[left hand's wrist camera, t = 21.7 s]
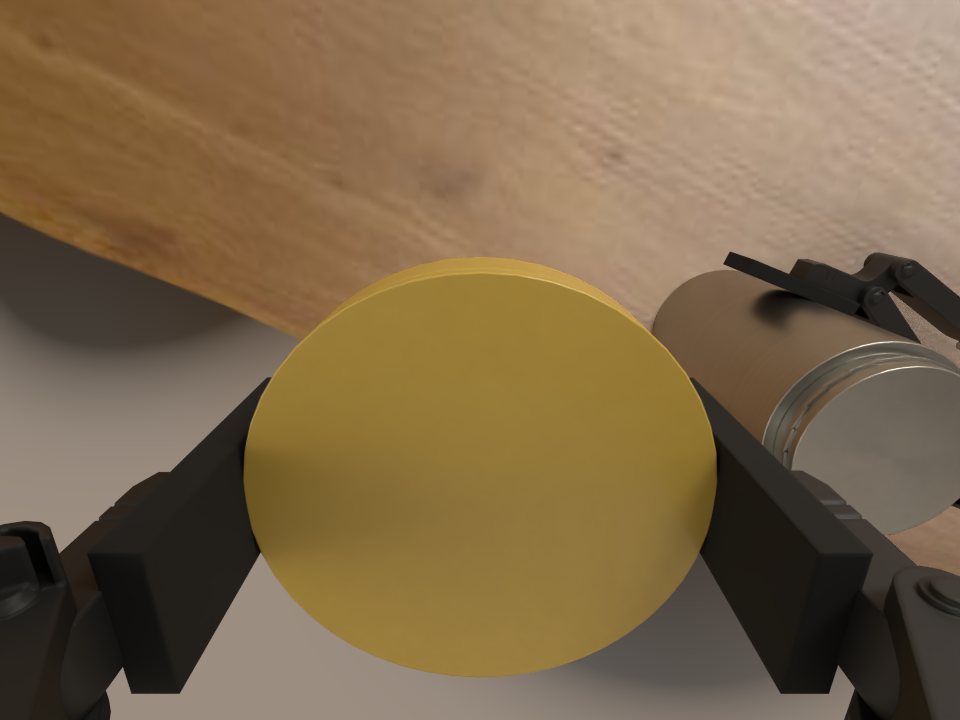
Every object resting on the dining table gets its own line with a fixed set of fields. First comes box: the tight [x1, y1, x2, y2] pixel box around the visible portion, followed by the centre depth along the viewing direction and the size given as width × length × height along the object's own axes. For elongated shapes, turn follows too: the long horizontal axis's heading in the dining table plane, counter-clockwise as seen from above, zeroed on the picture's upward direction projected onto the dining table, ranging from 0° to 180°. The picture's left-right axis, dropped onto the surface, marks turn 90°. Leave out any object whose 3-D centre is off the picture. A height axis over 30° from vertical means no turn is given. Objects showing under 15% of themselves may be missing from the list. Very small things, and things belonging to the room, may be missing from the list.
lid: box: [243, 257, 717, 677], centre depth 11 cm, size 10×10×2 cm
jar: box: [652, 270, 960, 535], centre depth 29 cm, size 9×9×17 cm
